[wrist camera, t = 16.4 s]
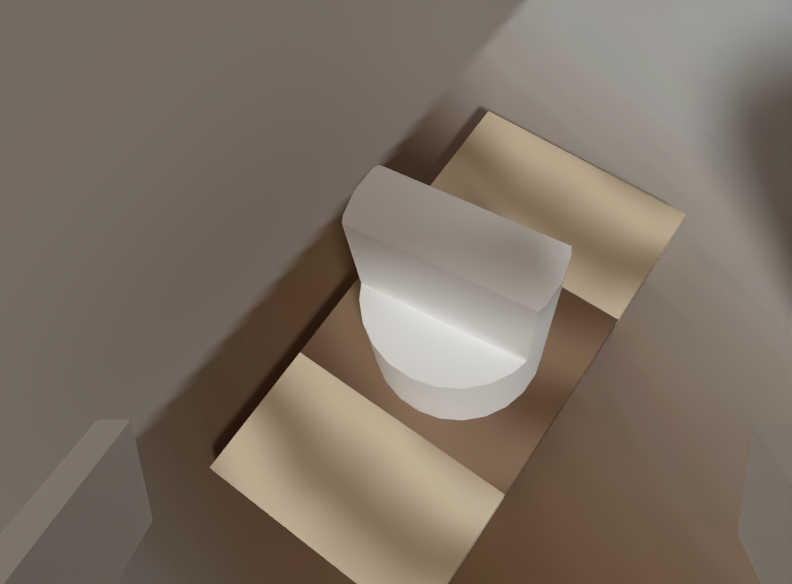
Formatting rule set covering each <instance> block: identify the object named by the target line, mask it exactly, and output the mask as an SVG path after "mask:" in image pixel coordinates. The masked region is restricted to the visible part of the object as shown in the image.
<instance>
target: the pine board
mask: <svg viewBox="0 0 792 584" xmlns="http://www.w3.org/2000/svg"><path fill="white" fill-rule="evenodd" d="M430 186H431V187H433V188H436V189H438V190H440V191H443V192H445V193H447V194H450V195H452V196H454V197H457V198H459V199H462V200H464V201H466V202H469V203H471V204H473V205H476V206H478V207H480V208H483V209H485V210H488V211H490V212H492V213H495V214H497V215H499V216H502V217H504V218H506V219H509V220H511V221H514V222H516V223H518V224H521V225H523V226H525V227H528V228H530V229H532V230H535V231H537V232H539V233H542V234H544V235H547V236H549V237H551V238H554V239H556V240H558V241H561V242H563V243H565V244H568V245H570V246H572V251H571V258H570V261H569V265H568V268H567V271H566V275H565V278H564V282H563V285H562V288H561V292H560V295H559V299H558V302H557V305H556V309H555V312H554V316H553V319H552V322H551V326H550V329H549V333H548V336H547V339H546V343H545V346H544V349H543V353H542V356H541V359H540V362H539V365H538V368H537V371H536V374H535V376H534V377H533V379H532V380H531V382H530V383H529V385H528V386H527V388H526V389H525V391H524V392H523V393H522V394H521V395H520V396H518V397H517V398H516V399H515V400H514V401H513V402H511V403H510V404H509V405H508V406H507V407H505V408H503V409H501V410H498V411H496V412H494V413H492V414H490V415H488V416H485V417H480V418H474V419H468V420H451V419H440V418H437V417H434V416H431V415H428V414H426V413H423V412H420V411H418V410H416V409H415V408H413V407H412V406H410V405H409V404H408V403H406V402H405V401H403V400H402V399H400V398H399V397H398V395H397V394H396V393H395V392H394V391H393V389H392V388H391V387H390V386H389V385H388V383H387V382H386V381H385V379H384V376H383V374H382V372H381V370H380V368H379V365H378V363H377V361H376V358H375V355H374V352H373V350H372V347H371V344H370V342H369V339H368V336H367V333H366V331H365V328H364V325H363V322H362V315H361V308H360V301H359V297H360V290H361V281H360V278H359V277H358V279H357V280H356V281H355V282H354V284H353V285H352V286H351V288H350V289H349V290H348V291H347V293H346V294H345V295H344V296H343V298H342V299H341V300H340V302H339V303H338V304H337V305H336V307H335V308H334V309H333V311H332V312H331V313H330V314H329V316H328V317H327V318H326V320H325V321H324V322H323V323H322V325H321V326H320V327H319V328H318V330H317V331H316V332H315V334H314V335H313V336H312V337H311V339H310V340H309V341H308V343H307V344H306V345H305V346H304V348H303V349H302V350H301V351H300V353H299V354H298V355H297V357H296V358H295V359H294V360H293V362H292V363H291V364H290V366H289V367H288V368H287V369H286V371H285V372H284V373H283V374H282V376H281V377H280V378H279V380H278V381H277V382H276V383H275V385H274V386H273V387H272V389H271V390H270V391H269V392H268V394H267V395H266V396H265V398H264V399H263V400H262V401H261V403H260V404H259V405H258V406H257V408H256V409H255V410H254V412H253V413H252V414H251V415H250V417H249V418H248V419H247V421H246V422H245V423H244V424H243V426H242V427H241V428H240V429H239V431H238V432H237V433H236V435H235V436H234V437H233V438H232V440H231V441H230V442H229V444H228V445H227V446H226V447H225V449H224V450H223V451H222V453H221V454H220V455H219V456H218V458H217V459H216V460H215V461H214V463H213V464H212V465H211V467H210V468H211V469H212V470H213V471H214V472H216V473H217V474H218V475H220V476H221V477H222V478H223V479H225V480H226V481H227V482H228V483H230V484H231V485H232V486H234V487H235V488H236V489H237V490H239V491H240V492H241V493H242V494H244V495H245V496H246V497H247V498H249V499H250V500H251V501H253V502H254V503H255V504H256V505H258V506H259V507H260V508H261V509H263V510H264V511H265V512H267V513H268V514H269V515H270V516H272V517H273V518H274V519H275V520H277V521H278V522H279V523H280V524H282V525H283V526H284V527H286V528H287V529H288V530H289V531H291V532H292V533H293V534H294V535H296V536H297V537H298V538H300V539H301V540H302V541H303V542H305V543H306V544H307V545H308V546H310V547H311V548H312V549H313V550H315V551H316V552H317V553H319V554H320V555H321V556H322V557H324V558H325V559H326V560H327V561H329V562H330V563H331V564H333V565H334V566H335V567H336V568H338V569H339V570H340V571H341V572H343V573H344V574H345V575H347V576H348V577H349V578H350V579H352V580H353V581H354V582H355V583H357V584H449V582H450V581H451V579H452V578H453V576H454V574H455V573H456V571H457V570H458V568H459V567H460V565H461V564H462V562H463V561H464V559H465V557H466V556H467V554H468V553H469V551H470V550H471V548H472V547H473V545H474V544H475V542H476V540H477V539H478V537H479V536H480V534H481V533H482V531H483V530H484V528H485V527H486V525H487V523H488V522H489V520H490V519H491V517H492V516H493V514H494V513H495V511H496V510H497V508H498V506H499V505H500V503H501V502H502V500H503V499H504V497H505V496H506V494H507V493H508V491H509V489H510V488H511V486H512V485H513V483H514V482H515V480H516V479H517V477H518V476H519V474H520V472H521V471H522V469H523V468H524V466H525V465H526V463H527V462H528V460H529V459H530V457H531V455H532V454H533V452H534V451H535V449H536V448H537V446H538V445H539V443H540V442H541V440H542V438H543V437H544V435H545V434H546V432H547V431H548V429H549V428H550V426H551V425H552V423H553V421H554V420H555V418H556V417H557V415H558V414H559V412H560V411H561V409H562V408H563V406H564V404H565V403H566V401H567V400H568V398H569V397H570V395H571V394H572V392H573V391H574V389H575V387H576V386H577V384H578V383H579V381H580V380H581V378H582V377H583V375H584V374H585V372H586V371H587V369H588V367H589V366H590V364H591V363H592V361H593V360H594V358H595V357H596V355H597V354H598V352H599V350H600V349H601V347H602V346H603V344H604V343H605V341H606V340H607V338H608V337H609V335H610V333H611V332H612V330H613V329H614V327H615V326H616V324H617V323H618V321H619V320H620V318H621V316H622V315H623V313H624V312H625V310H626V309H627V307H628V306H629V304H630V303H631V301H632V299H633V298H634V296H635V295H636V293H637V292H638V290H639V289H640V287H641V286H642V284H643V282H644V281H645V279H646V278H647V276H648V275H649V273H650V272H651V270H652V269H653V267H654V265H655V264H656V262H657V261H658V259H659V258H660V256H661V255H662V253H663V252H664V250H665V248H666V247H667V245H668V244H669V242H670V241H671V239H672V238H673V236H674V235H675V233H676V231H677V230H678V228H679V227H680V225H681V223H682V221H683V220H684V218H685V216H686V214H684V213H682V212H680V211H679V210H677V209H675V208H673V207H671V206H669V205H667V204H665V203H663V202H661V201H659V200H658V199H656V198H654V197H652V196H650V195H648V194H646V193H644V192H642V191H640V190H638V189H636V188H635V187H633V186H631V185H629V184H627V183H625V182H623V181H621V180H619V179H617V178H615V177H614V176H612V175H610V174H608V173H606V172H604V171H602V170H600V169H598V168H596V167H594V166H593V165H591V164H589V163H587V162H585V161H583V160H581V159H579V158H577V157H575V156H573V155H571V154H570V153H568V152H566V151H564V150H562V149H560V148H558V147H556V146H554V145H552V144H550V143H549V142H547V141H545V140H543V139H541V138H539V137H537V136H535V135H533V134H531V133H529V132H528V131H526V130H524V129H522V128H520V127H518V126H516V125H514V124H512V123H510V122H508V121H506V120H505V119H503V118H501V117H499V116H497V115H495V114H493V113H491V112H489V111H488V112H487V114H486V115H485V116H484V117H483V119H482V120H481V121H480V123H479V124H478V125H477V126H476V128H475V129H474V130H473V132H472V133H471V134H470V135H469V137H468V138H467V139H466V140H465V142H464V143H463V144H462V146H461V147H460V148H459V149H458V151H457V152H456V153H455V155H454V156H453V157H452V158H451V160H450V161H449V162H448V163H447V165H446V166H445V167H444V169H443V170H442V171H441V172H440V174H439V175H438V176H437V178H436V179H435V180H434V181H433V183H432V184H431V185H430Z"/></svg>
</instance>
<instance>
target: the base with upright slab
mask: <svg viewBox="0 0 792 584" xmlns="http://www.w3.org/2000/svg"><path fill="white" fill-rule="evenodd" d="M342 225H343V228H344V231H345V235H346V238H347V241H348V244H349V247H350V250H351V253H352V256H353V259H354V262H355V265H356V268H357V272H358V275H359V278H360V281H361V290H360V297H359V301H360V308H361V315H362V322H363V325H364V328H365V331H366V333H367V336H368V339H369V342H370V344H371V347H372V350H373V352H374V355H375V358H376V361H377V363H378V365H379V368H380V370H381V372H382V374H383V376H384V379H385V381H386V382H387V383H388V385H389V386H390V387H391V388H392V389H393V391H394V392H395V393H396V394H397V395H398V397H399V398H400V399H402V400H403V401H405V402H406V403H408V404H409V405H410V406H412V407H413V408H415V409H416V410H418V411H420V412H423V413H426V414H428V415H431V416H434V417H437V418H440V419H451V420H468V419H474V418H480V417H485V416H488V415H490V414H492V413H494V412H496V411H498V410H501V409H503V408H505V407H507V406H508V405H509V404H510V403H511V402H513V401H514V400H515V399H516V398H517V397H518V396H520V395H521V394H522V393H523V392H524V391H525V389H526V388H527V386H528V385H529V383H530V382H531V380H532V379H533V377H534V376H535V374H536V371H537V368H538V365H539V362H540V359H541V356H542V353H543V349H544V346H545V343H546V339H547V336H548V333H549V329H550V326H551V322H552V319H553V316H554V312H555V309H556V305H557V302H558V299H559V295H560V292H561V288H562V285H563V282H564V278H565V275H566V271H567V268H568V265H569V261H570V258H571V251H572V246H570V245H568V244H565V243H563V242H561V241H558V240H556V239H554V238H551V237H549V236H547V235H544V234H542V233H539V232H537V231H535V230H532V229H530V228H528V227H525V226H523V225H521V224H518V223H516V222H514V221H511V220H509V219H506V218H504V217H502V216H499V215H497V214H495V213H492V212H490V211H488V210H485V209H483V208H480V207H478V206H476V205H473V204H471V203H469V202H466V201H464V200H462V199H459V198H457V197H454V196H452V195H450V194H447V193H445V192H443V191H440V190H438V189H436V188H433V187H431V186H429V185H426V184H424V183H421V182H419V181H417V180H414V179H412V178H410V177H407V176H405V175H403V174H400V173H398V172H395V171H393V170H391V169H388V168H386V167H384V166H381V165H379V164H378V165H377V166H376V167H374V168H373V169H371V171H370V172H369V173H368V174H367V176H366V177H365V178H364V179H363V180H362V182H361V183H360V184H359V185H358V186H357V188H356V189H355V190H354V192H353V194H352V196H351V199H350V201H349V203H348V205H347V207H346V210H345V212H344V214H343V218H342Z"/></svg>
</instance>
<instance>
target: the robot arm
mask: <svg viewBox="0 0 792 584" xmlns="http://www.w3.org/2000/svg"><path fill="white" fill-rule="evenodd" d="M152 521H153V520H152V515H151V511H150V506H149V502H148V497H147V493H146V488H145V484H144V479H143V474H142V470H141V465H140V461H139V456H138V452H137V447H136V442H135V438H134V433H133V429H132V424H131V420H97V421H96V422H95V423H94V424H93V426H92V427H91V428H90V429H89V430H88V432H87V433H86V434H85V435H84V436H83V437H82V439H81V440H80V441H79V442H78V443H77V444H76V446H75V447H74V448H73V449H72V450H71V451H70V453H69V454H68V455H67V456H66V457H65V459H64V460H63V461H62V462H61V463H60V464H59V466H58V467H57V468H56V469H55V470H54V472H53V473H52V474H51V475H50V476H49V477H48V479H47V480H46V481H45V482H44V483H43V484H42V486H41V487H40V488H39V489H38V490H37V492H36V493H35V494H34V495H33V496H32V497H31V499H30V500H29V501H28V502H27V503H26V504H25V506H24V507H23V508H22V509H21V510H20V512H19V513H18V514H17V515H16V517H14V519H13V520H12V521H11V522H10V523H9V525H8V526H7V527H6V528H5V529H4V530H3V532H2V533H1V534H0V584H116V582H117V580H118V579H119V577H120V575H121V574H122V572H123V570H124V569H125V567H126V565H127V563H128V562H129V560H130V558H131V557H132V555H133V553H134V552H135V550H136V548H137V547H138V545H139V543H140V541H141V540H142V538H143V536H144V535H145V533H146V531H147V530H148V528H149V526H150V525H151V523H152ZM737 534H738V536H739V538H740V540H741V543H742V545H743V547H744V549H745V551H746V553H747V555H748V557H749V560H750V562H751V564H752V566H753V568H754V570H755V572H756V575H757V577H758V579H759V581H760V583H761V584H792V424H754V425H753V432H752V439H751V445H750V452H749V459H748V465H747V472H746V479H745V486H744V492H743V499H742V506H741V512H740V519H739V526H738V532H737Z"/></svg>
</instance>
